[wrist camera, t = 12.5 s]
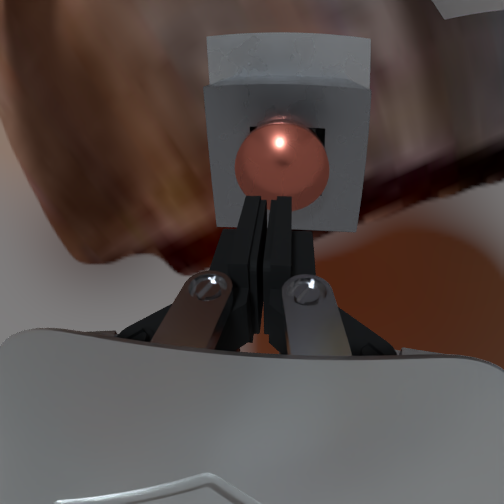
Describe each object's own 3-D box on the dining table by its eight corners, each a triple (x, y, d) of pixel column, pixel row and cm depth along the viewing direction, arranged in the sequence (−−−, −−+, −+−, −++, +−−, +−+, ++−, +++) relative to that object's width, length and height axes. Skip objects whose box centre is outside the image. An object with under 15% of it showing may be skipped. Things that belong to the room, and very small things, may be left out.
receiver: (209, 37, 23) (167, 31, 15) (368, 39, 21) (404, 33, 13) (223, 209, 33) (198, 268, 25) (355, 214, 31) (372, 276, 23)
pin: (253, 100, 24) (232, 124, 17) (319, 102, 23) (332, 127, 16) (255, 160, 27) (237, 210, 20) (317, 163, 27) (325, 214, 19)
